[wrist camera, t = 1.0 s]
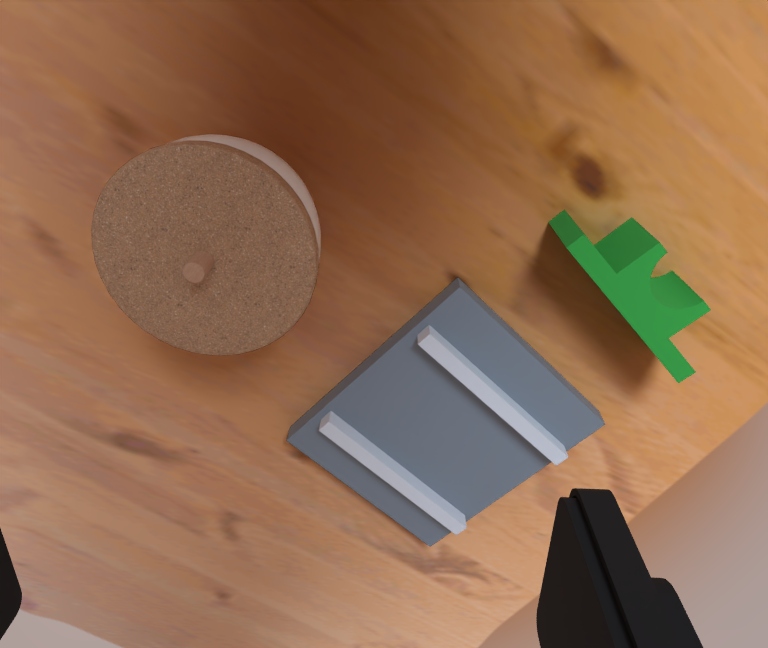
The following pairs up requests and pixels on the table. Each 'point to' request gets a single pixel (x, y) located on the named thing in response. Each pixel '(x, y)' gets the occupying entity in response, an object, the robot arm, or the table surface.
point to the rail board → (445, 417)
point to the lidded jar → (208, 244)
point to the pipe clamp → (637, 285)
